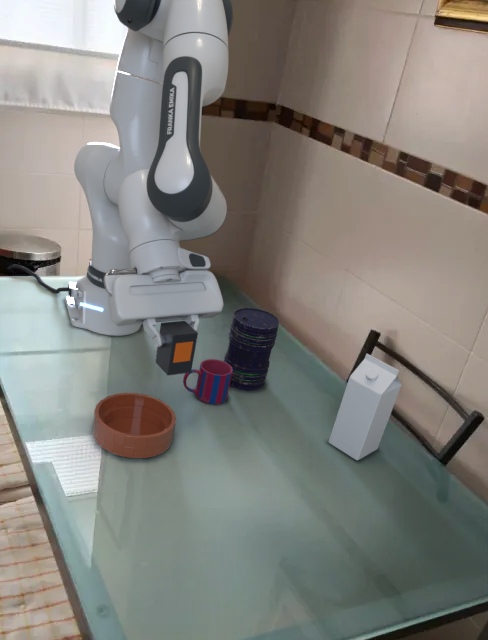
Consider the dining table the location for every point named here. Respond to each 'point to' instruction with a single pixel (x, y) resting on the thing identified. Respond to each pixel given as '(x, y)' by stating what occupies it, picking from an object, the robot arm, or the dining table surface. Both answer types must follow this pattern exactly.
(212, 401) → the mug
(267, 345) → the dark blue cylinder
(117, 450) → the bowl
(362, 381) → the milk carton
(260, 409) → the dining table surface
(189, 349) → the box
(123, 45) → the robot arm
